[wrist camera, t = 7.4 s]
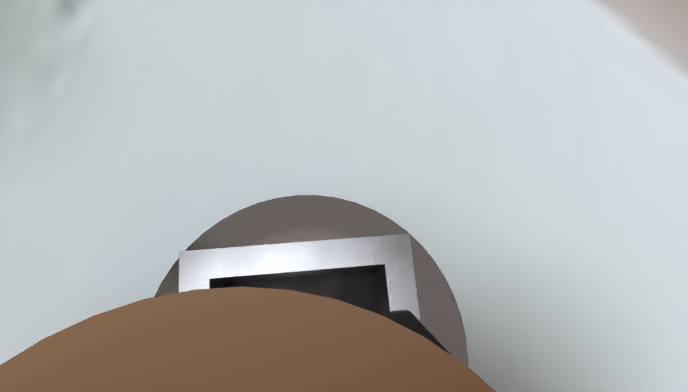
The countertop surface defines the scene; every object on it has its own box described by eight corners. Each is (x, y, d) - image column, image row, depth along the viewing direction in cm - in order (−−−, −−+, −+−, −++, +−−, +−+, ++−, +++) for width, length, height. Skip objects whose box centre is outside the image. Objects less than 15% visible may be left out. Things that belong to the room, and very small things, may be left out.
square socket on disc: (483, 510, 16) (536, 575, 12) (140, 556, 15) (78, 645, 11) (436, 191, 19) (465, 163, 15) (151, 211, 18) (107, 186, 14)
